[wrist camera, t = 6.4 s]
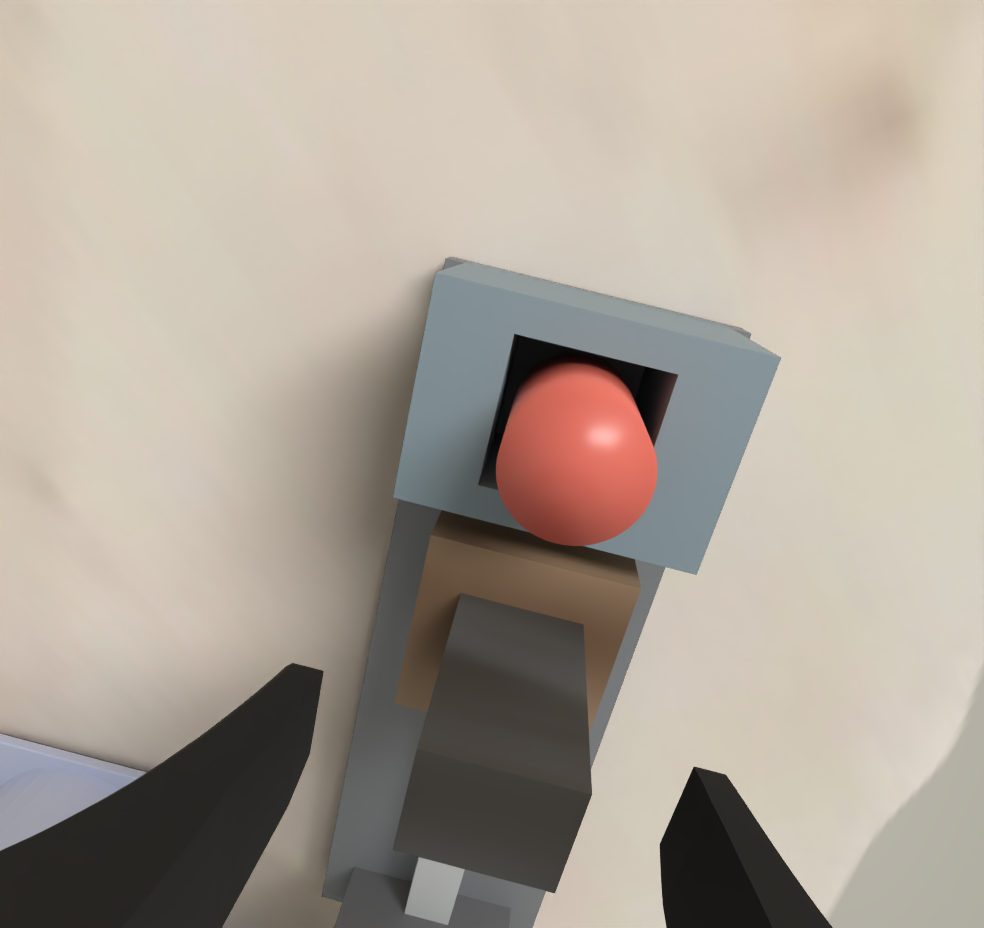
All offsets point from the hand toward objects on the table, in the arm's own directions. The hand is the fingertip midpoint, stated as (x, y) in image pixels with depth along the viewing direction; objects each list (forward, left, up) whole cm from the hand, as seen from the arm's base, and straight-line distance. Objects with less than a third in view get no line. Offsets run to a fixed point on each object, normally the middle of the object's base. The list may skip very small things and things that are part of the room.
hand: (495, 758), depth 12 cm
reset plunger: (+6, 0, -5) cm, 8 cm away
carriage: (0, 0, -6) cm, 6 cm away
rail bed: (-4, 0, -9) cm, 9 cm away
